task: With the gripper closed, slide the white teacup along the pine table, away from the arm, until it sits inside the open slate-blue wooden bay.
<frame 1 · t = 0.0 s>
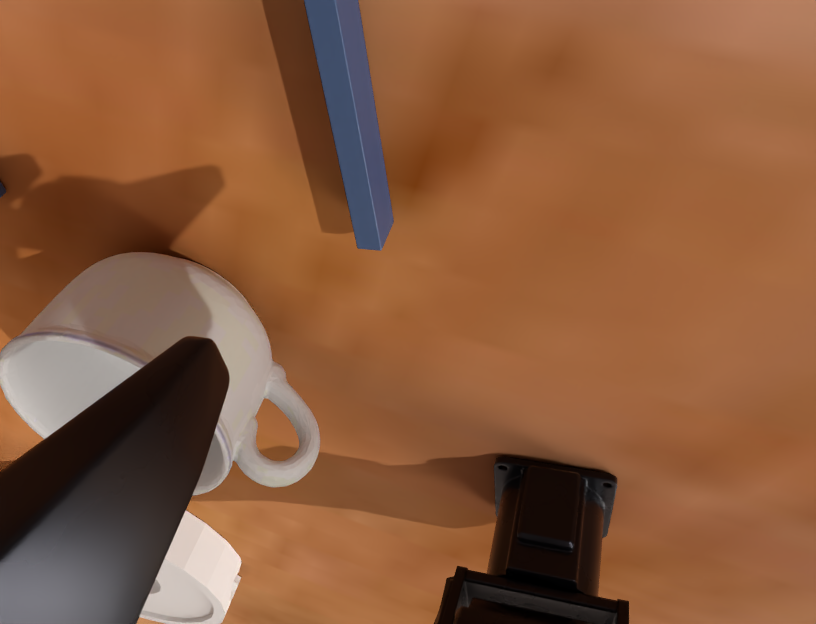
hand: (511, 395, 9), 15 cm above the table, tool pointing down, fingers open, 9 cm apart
teacup: (225, 312, 35), on the table
ashtray: (126, 527, 63), on the table
bay: (113, 63, 25), on the table
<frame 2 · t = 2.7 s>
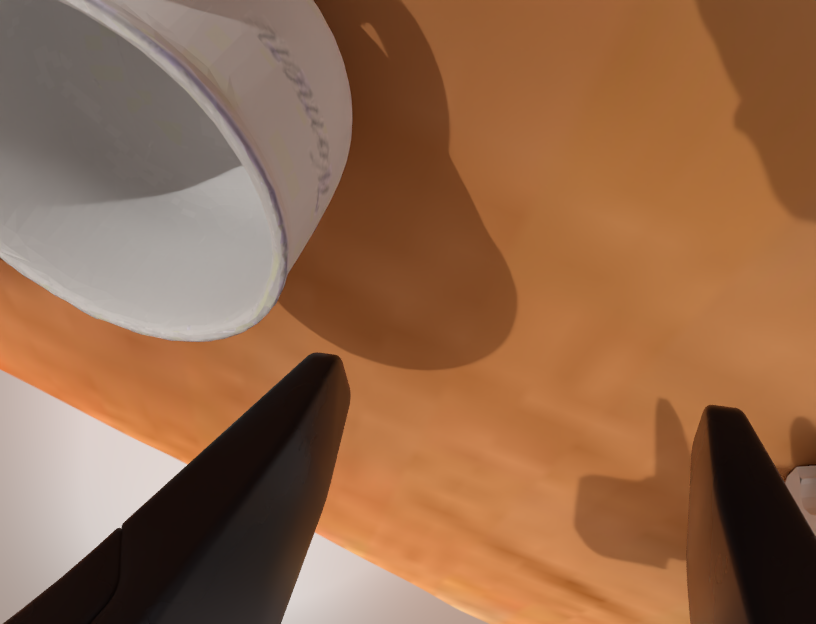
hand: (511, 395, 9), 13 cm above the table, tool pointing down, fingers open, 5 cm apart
teacup: (231, 0, 21), on the table
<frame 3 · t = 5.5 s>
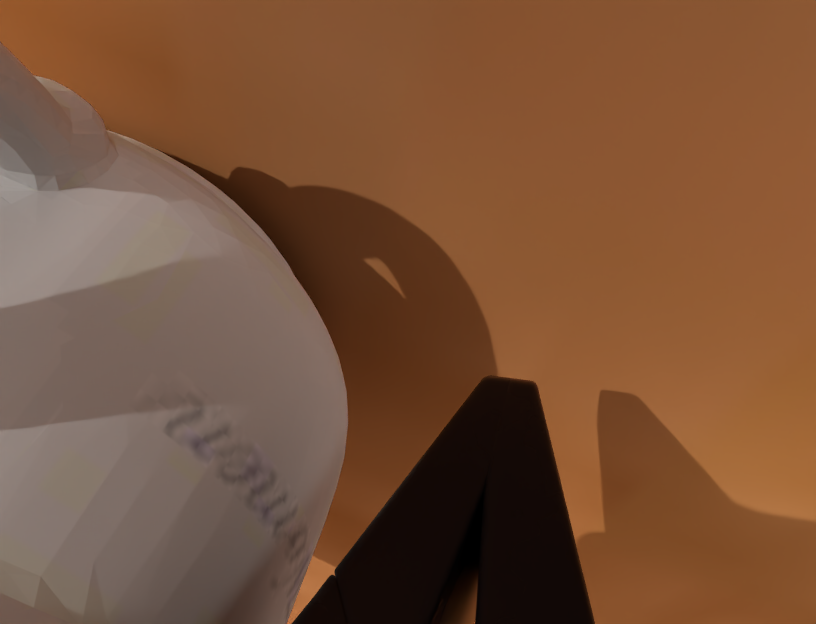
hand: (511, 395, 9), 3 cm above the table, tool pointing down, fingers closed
teacup: (160, 207, 13), on the table, touching gripper
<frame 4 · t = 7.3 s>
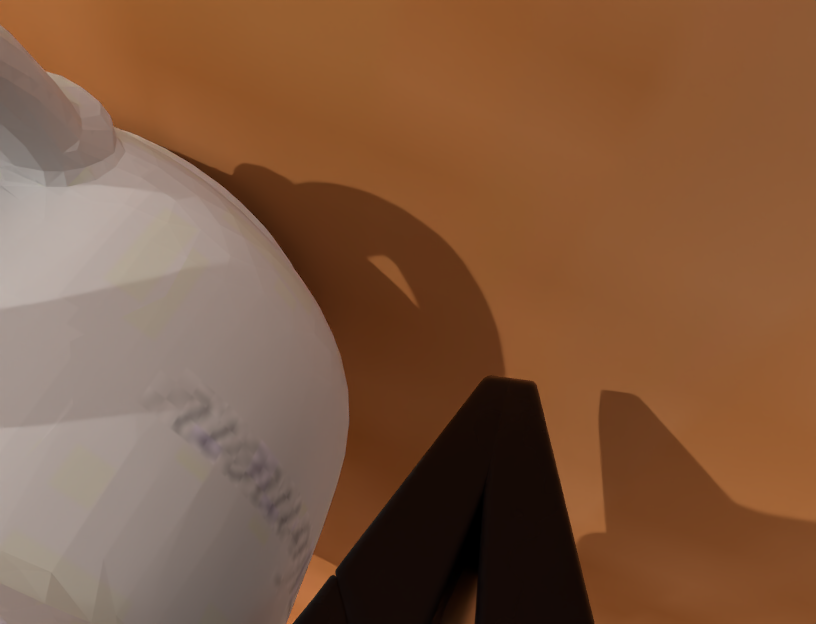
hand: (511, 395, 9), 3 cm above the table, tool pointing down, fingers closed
teacup: (161, 203, 13), on the table, touching gripper
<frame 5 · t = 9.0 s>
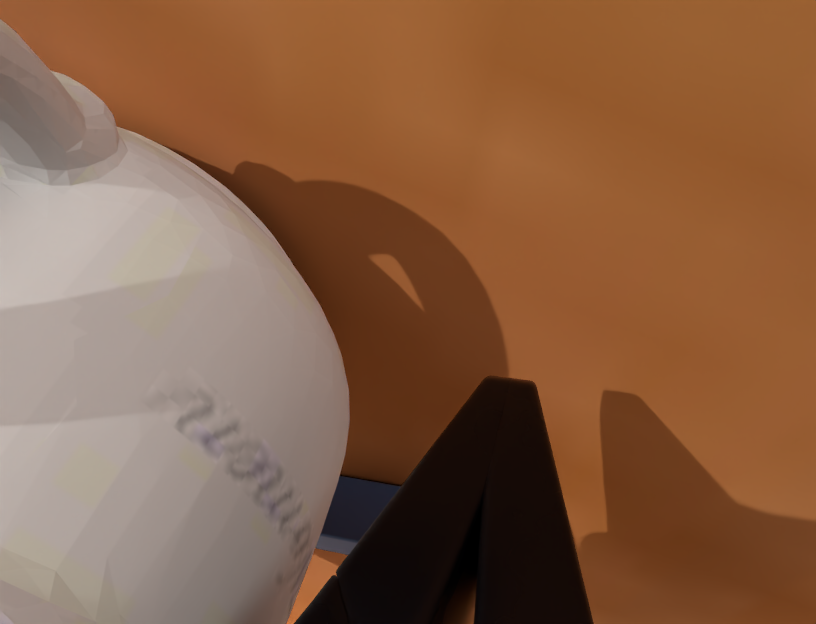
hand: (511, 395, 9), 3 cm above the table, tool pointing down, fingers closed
teacup: (162, 202, 13), on the table, touching gripper
bay: (154, 213, 13), on the table
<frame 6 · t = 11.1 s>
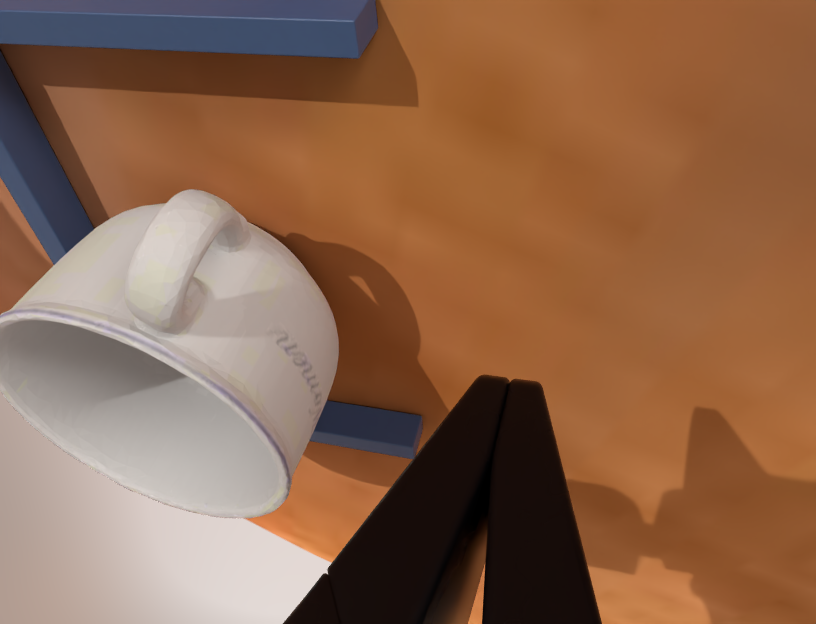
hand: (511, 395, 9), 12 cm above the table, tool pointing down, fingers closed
teacup: (247, 247, 27), on the table
bay: (243, 253, 27), on the table
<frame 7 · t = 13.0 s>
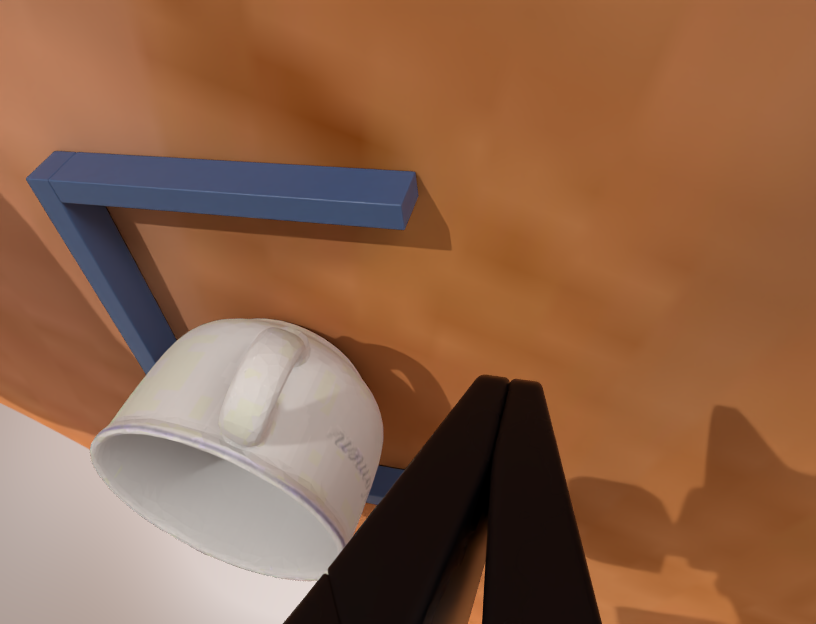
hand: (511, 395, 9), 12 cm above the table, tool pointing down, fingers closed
teacup: (302, 344, 31), on the table
bay: (299, 349, 31), on the table
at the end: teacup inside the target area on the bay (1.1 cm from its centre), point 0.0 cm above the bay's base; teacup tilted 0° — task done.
